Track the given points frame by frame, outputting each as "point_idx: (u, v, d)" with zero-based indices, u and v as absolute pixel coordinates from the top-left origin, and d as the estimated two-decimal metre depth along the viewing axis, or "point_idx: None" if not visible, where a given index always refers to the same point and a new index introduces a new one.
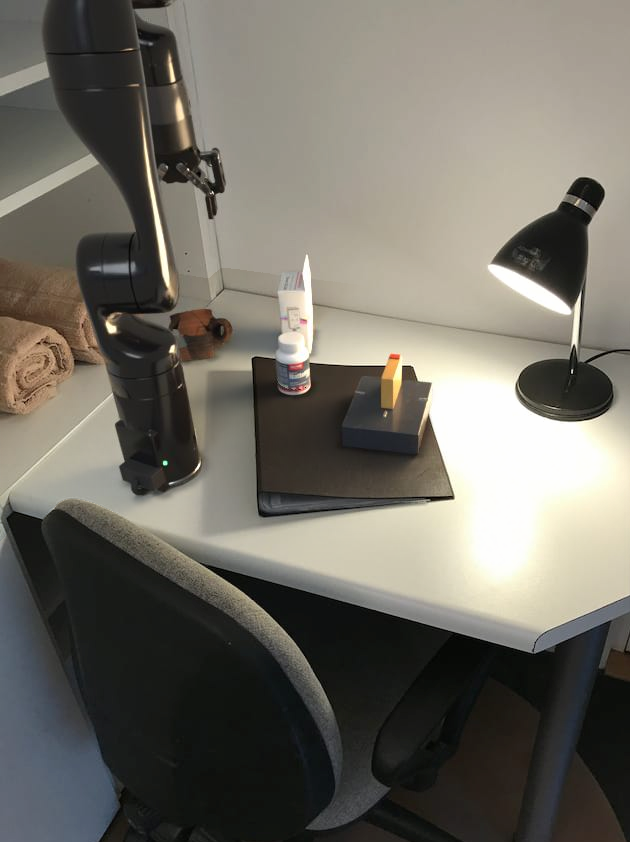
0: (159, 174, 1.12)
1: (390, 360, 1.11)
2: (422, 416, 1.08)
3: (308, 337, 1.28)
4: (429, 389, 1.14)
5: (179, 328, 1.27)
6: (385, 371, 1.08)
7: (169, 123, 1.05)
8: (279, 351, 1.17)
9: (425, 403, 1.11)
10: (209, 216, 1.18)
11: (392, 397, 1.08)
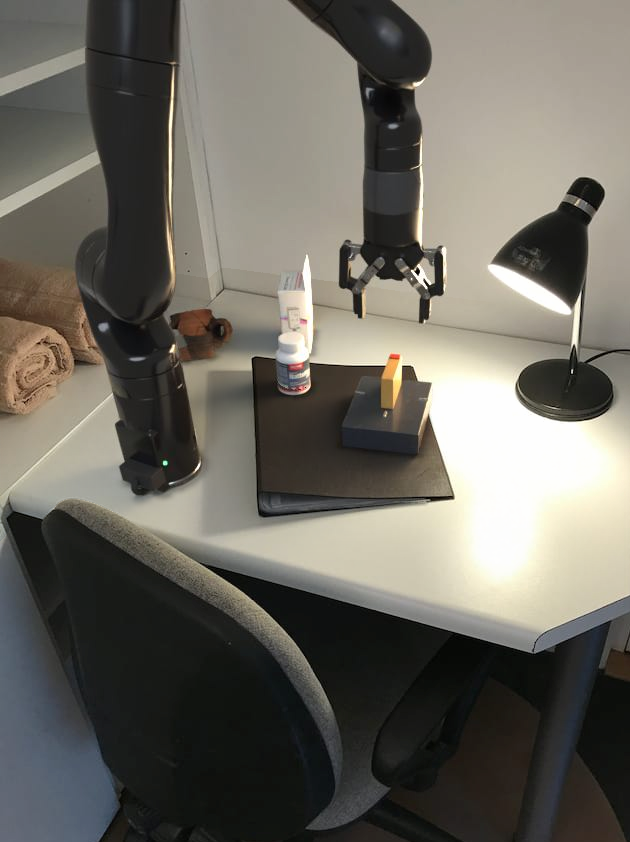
0: (374, 268, 0.99)
1: (390, 360, 1.11)
2: (422, 416, 1.08)
3: (308, 337, 1.28)
4: (429, 389, 1.14)
5: (179, 328, 1.27)
6: (385, 371, 1.08)
7: (397, 213, 0.92)
8: (279, 351, 1.17)
9: (425, 403, 1.11)
10: (420, 320, 1.03)
11: (392, 397, 1.08)
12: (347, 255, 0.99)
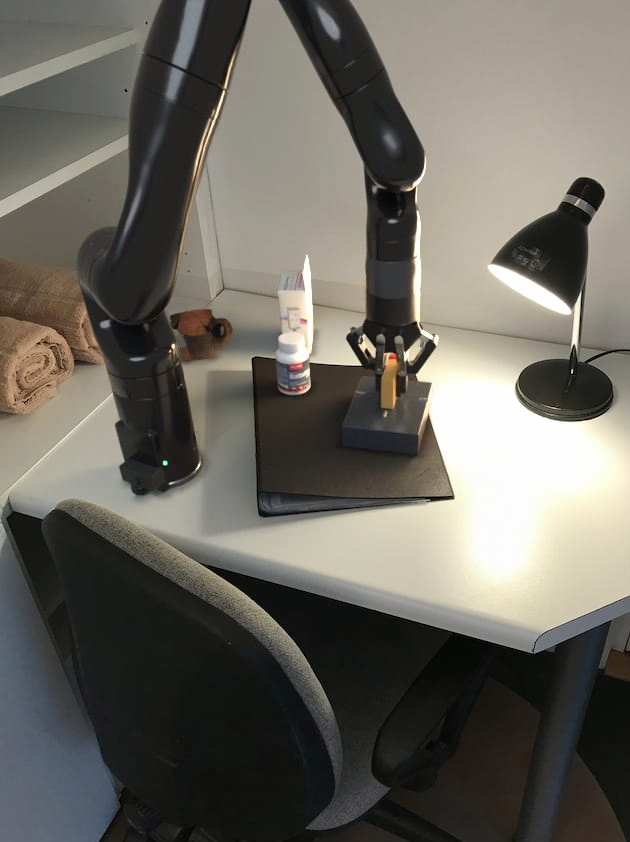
0: (380, 346, 1.06)
1: (390, 360, 1.11)
2: (422, 416, 1.08)
3: (308, 337, 1.28)
4: (429, 389, 1.14)
5: (179, 328, 1.27)
6: (385, 371, 1.08)
7: (397, 298, 0.99)
8: (279, 351, 1.17)
9: (425, 403, 1.11)
10: (397, 394, 1.11)
11: (392, 397, 1.08)
12: (354, 340, 1.07)
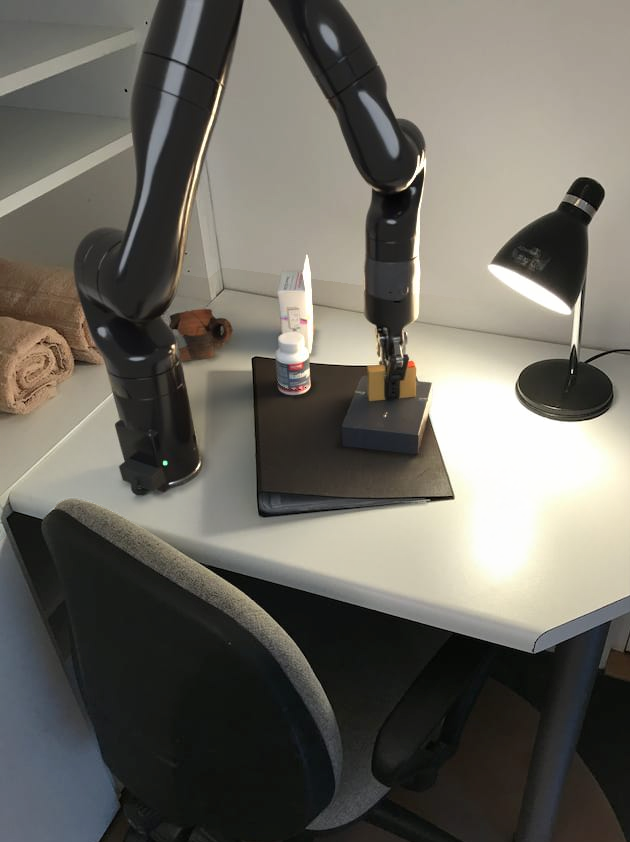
0: (377, 338, 1.08)
1: None
2: (422, 416, 1.08)
3: (308, 337, 1.28)
4: (429, 389, 1.14)
5: (179, 328, 1.27)
6: (380, 365, 1.10)
7: (367, 292, 1.00)
8: (279, 351, 1.17)
9: (425, 403, 1.11)
10: (384, 394, 1.11)
11: (369, 389, 1.10)
12: None
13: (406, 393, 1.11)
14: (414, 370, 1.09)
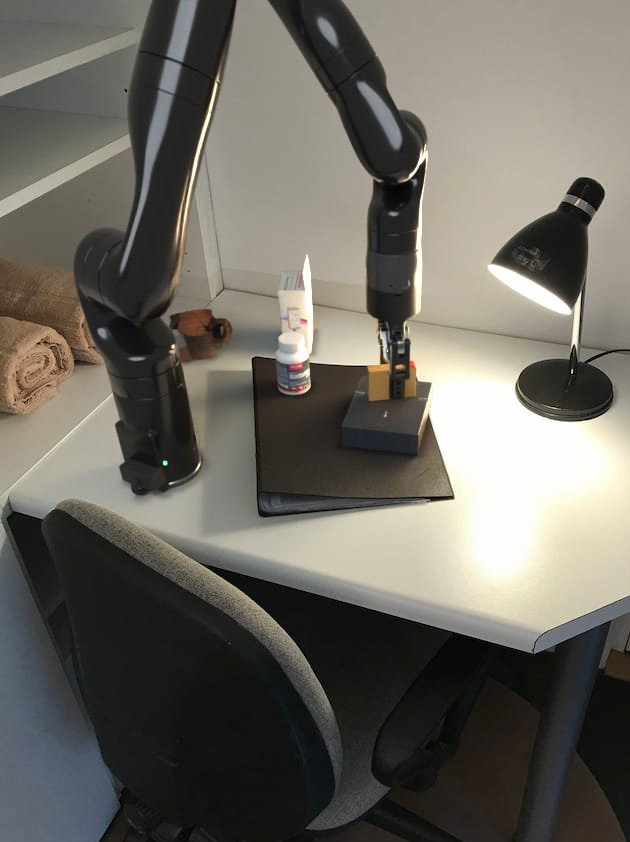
0: None
1: None
2: (422, 416, 1.08)
3: (308, 337, 1.28)
4: (429, 389, 1.14)
5: (179, 328, 1.27)
6: (380, 365, 1.10)
7: (368, 285, 0.99)
8: (279, 351, 1.17)
9: (425, 403, 1.11)
10: None
11: (369, 389, 1.10)
12: None
13: (406, 393, 1.11)
14: (414, 370, 1.09)
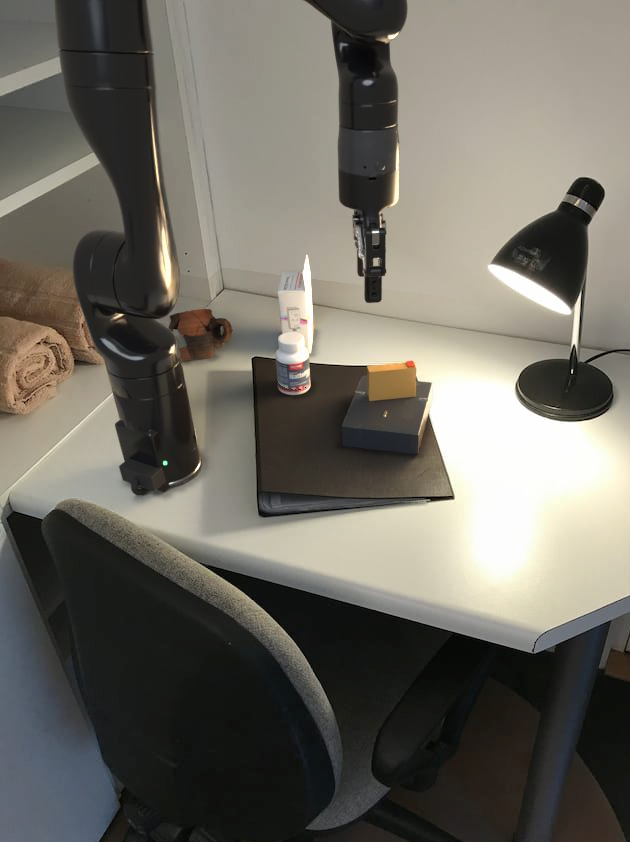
0: None
1: (403, 363, 1.10)
2: (422, 416, 1.08)
3: (308, 337, 1.28)
4: (429, 389, 1.14)
5: (179, 328, 1.27)
6: (380, 365, 1.10)
7: (341, 170, 0.91)
8: (279, 351, 1.17)
9: (425, 403, 1.11)
10: (364, 296, 0.99)
11: (369, 389, 1.10)
12: None
13: (406, 393, 1.11)
14: (414, 370, 1.09)
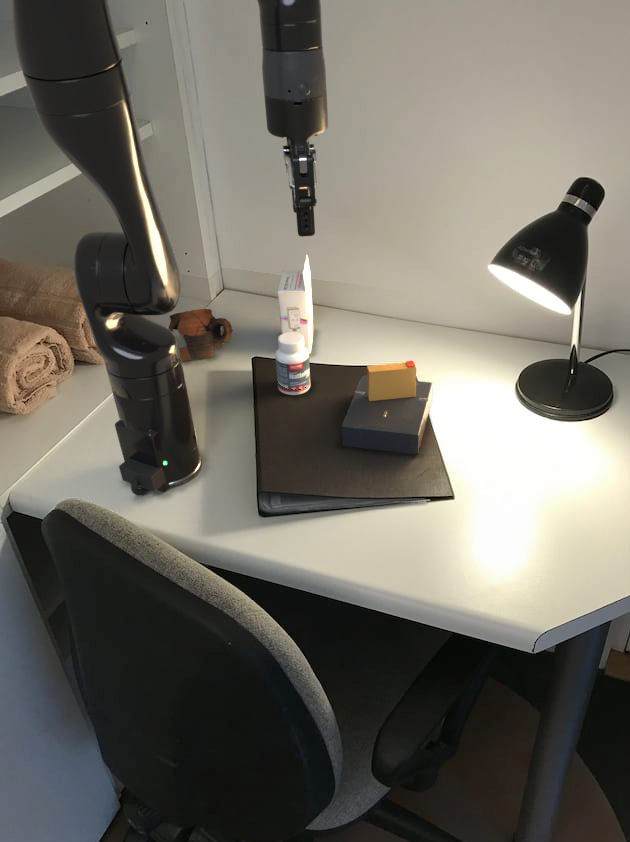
0: None
1: (403, 363, 1.10)
2: (422, 416, 1.08)
3: (308, 337, 1.28)
4: (429, 389, 1.14)
5: (179, 328, 1.27)
6: (380, 365, 1.10)
7: (266, 96, 0.89)
8: (279, 351, 1.17)
9: (425, 403, 1.11)
10: (297, 230, 0.97)
11: (369, 389, 1.10)
12: (287, 138, 0.99)
13: (406, 393, 1.11)
14: (414, 370, 1.09)
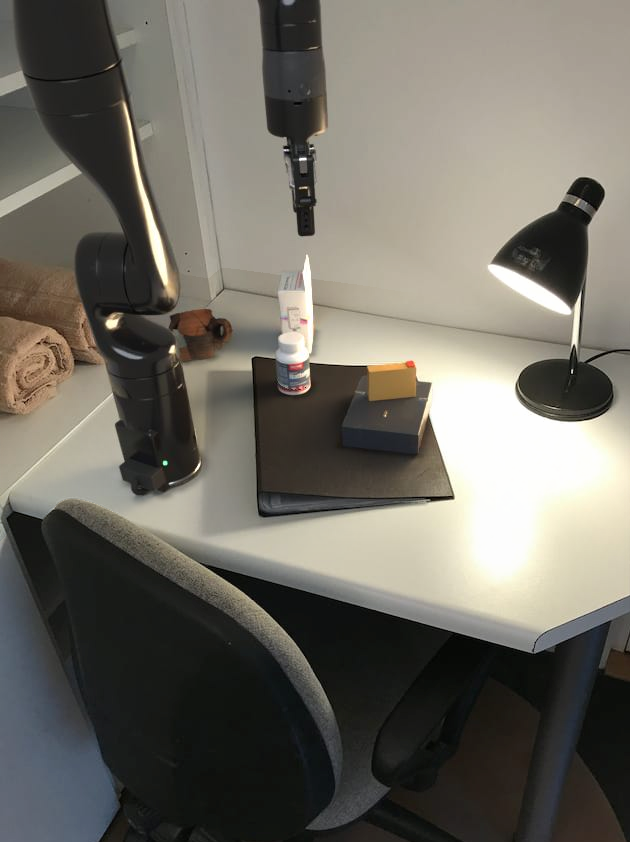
0: None
1: (403, 363, 1.10)
2: (422, 416, 1.08)
3: (308, 337, 1.28)
4: (429, 389, 1.14)
5: (179, 328, 1.27)
6: (380, 365, 1.10)
7: (266, 96, 0.89)
8: (279, 351, 1.17)
9: (425, 403, 1.11)
10: (297, 230, 0.97)
11: (369, 389, 1.10)
12: (287, 138, 0.99)
13: (406, 393, 1.11)
14: (414, 370, 1.09)
